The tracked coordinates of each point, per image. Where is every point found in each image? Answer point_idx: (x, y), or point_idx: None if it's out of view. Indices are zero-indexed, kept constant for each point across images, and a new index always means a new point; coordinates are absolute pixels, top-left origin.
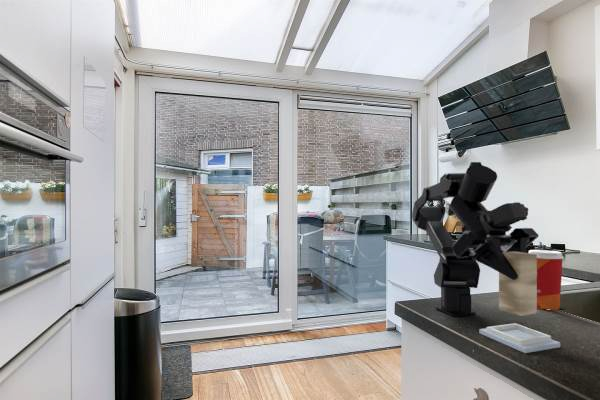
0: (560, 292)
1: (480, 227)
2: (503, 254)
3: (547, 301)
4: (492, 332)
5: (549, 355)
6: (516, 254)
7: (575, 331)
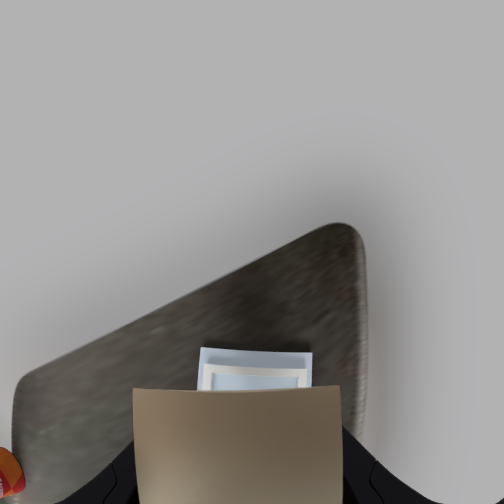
0: None
1: None
2: (361, 500)
3: (6, 463)
4: None
5: (270, 329)
6: (304, 451)
7: (79, 381)
